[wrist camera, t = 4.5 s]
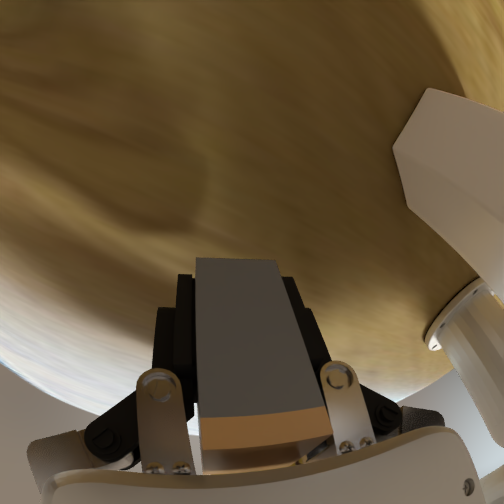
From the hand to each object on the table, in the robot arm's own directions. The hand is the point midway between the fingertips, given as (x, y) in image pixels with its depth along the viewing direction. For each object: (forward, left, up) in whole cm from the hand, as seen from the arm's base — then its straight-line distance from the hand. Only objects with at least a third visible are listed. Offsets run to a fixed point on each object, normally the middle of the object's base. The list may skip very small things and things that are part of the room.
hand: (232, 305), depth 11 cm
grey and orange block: (0, 0, -1) cm, 1 cm away
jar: (-13, -7, -5) cm, 16 cm away
